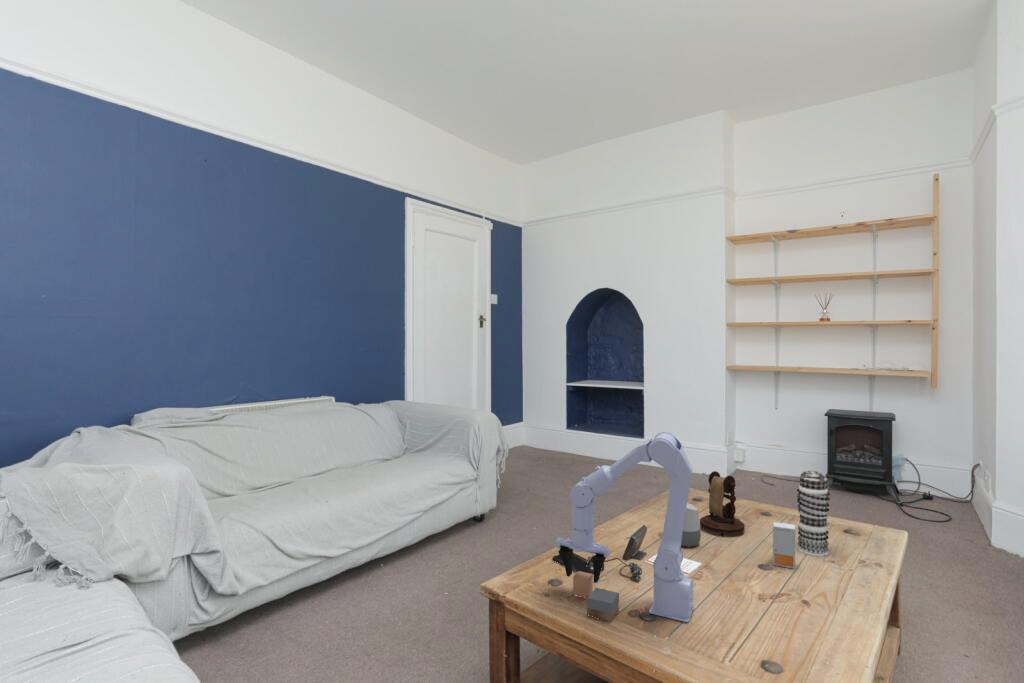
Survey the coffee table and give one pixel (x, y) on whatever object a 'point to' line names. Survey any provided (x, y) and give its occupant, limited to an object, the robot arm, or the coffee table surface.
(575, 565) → the phone
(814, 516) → the decorative candle
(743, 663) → the coffee table surface
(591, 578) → the terracotta block
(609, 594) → the charcoal slab
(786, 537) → the skincare box
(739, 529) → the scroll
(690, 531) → the smart speaker
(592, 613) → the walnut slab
